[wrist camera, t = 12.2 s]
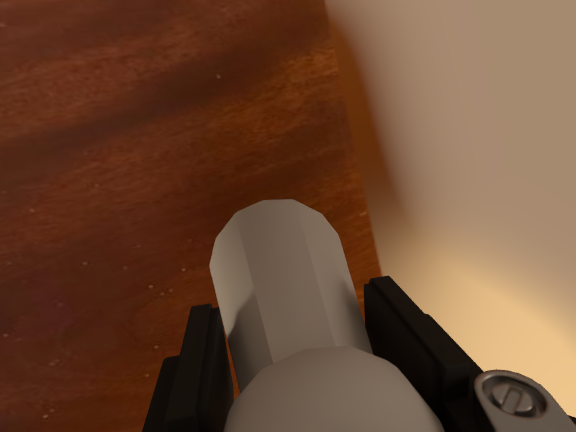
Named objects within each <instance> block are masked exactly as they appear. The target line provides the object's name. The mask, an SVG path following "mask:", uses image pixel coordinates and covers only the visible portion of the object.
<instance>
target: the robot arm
mask: <svg viewBox="0 0 576 432" xmlns="http://www.w3.org/2000/svg"><path fill="white" fill-rule="evenodd" d="M364 308H365V328H366V331H367V335H368V338H369V342H370V345H371V348H372V352H373V355H375V356H377V357H380V358H382V359H385V360H387V361H388V362H390V363H391V364H393V365H394V366H396V367H397V368H398V369H399V370H400V371H401V372H402V374H403V375H404V376H405V377H406V378H407V380H408V381H409V382H410V383H411V384H412V385H413V387H414V388H415V389H416V390H417V391H418V393H419V394H420V395H421V396H422V398H423V399H424V400H425V402H426V403H427V404H428V405H429V407H430V408H431V409H432V411H433V412H434V413H435V415H436V416H437V417H438V419H439V420H440V422H441V424H442V426H443V429H444V431H445V432H576V418H575V417H572V416H569V415H567V414H566V413H565V412H564V410H563V409H562V408H561V407H560V406H559V404H558V403H557V402H556V401H555V399H554V398H553V397H552V396H551V394H550V393H549V392H548V391H547V390H546V389H545V388H543V386H541V385H540V384H538V383H537V382H535V381H534V380H532V379H530V378H528V377H526V376H524V375H521V374H519V373H515V372H511V371H508V370H507V371H506V370H490V371H485V372H483V371H482V370H481V368H480V367H479V366H478V365H477V364H476V363H475V362H474V361H473V360H472V359H471V358H470V357H469V356H468V355H467V354H466V353H465V352H464V351H463V350H462V348H461V347H460V346H459V345H458V344H457V343H456V342H455V341H454V340H453V339H452V338H451V337H450V336H449V335H448V334H447V333H446V332H445V331H444V330H443V329H442V327H441V326H440V325H439V324H438V323H437V322H436V321H435V320H434V319H433V318H432V317H431V316H430V315H428V314H424V313H423V312H422V310H420V308H419V307H418V306H417V305H416V304H415V303H414V302H413V301H412V300H411V299H410V298H409V297H408V295H407V294H406V293H405V292H404V291H403V290H402V289H401V288H400V287H399V286H398V285H397V284H396V283H395V282H394V281H393V279H392V278H391V277H390V276H383V277H377V278H371V279H370V280H369V284H365V285H364ZM233 402H234V393H233V382H232V376H231V371H230V365H229V359H228V354H227V348H226V342H225V337H224V331H223V325H222V320H221V314H220V309H219V307H217V308H213V307H212V304H204V305H198V306H192V307H191V311H190V315H189V319H188V323H187V327H186V331H185V336H184V340H183V344H182V348H181V352H180V355H178V356H173V357H167V358H165V359H164V361H163V364H162V367H161V370H160V374H159V377H158V380H157V384H156V387H155V390H154V394H153V397H152V400H151V404H150V407H149V410H148V414H147V417H146V420H145V424H144V427H143V430H142V432H223V431H224V427H225V424H226V420H227V416H228V413H229V411H230V409H231V406H232V404H233Z"/></svg>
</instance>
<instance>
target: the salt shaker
mask: <svg viewBox="0 0 576 432" xmlns="http://www.w3.org/2000/svg"><path fill="white" fill-rule="evenodd" d="M209 267H210V271H211V275H212V279H213V283H214V287H215V291H216V295H217V299H218V303H219V307H220V312H221V316H222V320H223V324H224V328H225V332H226V336H227V340H228V344H229V348H230V352H231V356H232V360H233V365H234V369H235V373H236V377H237V381H238V385H239V389H240V393H241V394H240V395H239V396H238V397H237V398H236V399H235V401H234V402H233V404H232V406H231V409H230V411H229V413H228V416H227V420H226V424H225V427H224V431H223V432H445V431H444V429H443V426H442V424H441V422H440V420H439V419H438V417H437V416H436V415H435V413H434V412H433V411H432V409H431V408H430V407H429V405H428V404H427V403H426V402H425V400H424V399H423V398H422V396H421V395H420V394H419V393H418V391H417V390H416V389H415V388H414V387H413V385H412V384H411V383H410V382H409V381H408V380H407V378H406V377H405V376H404V375H403V374H402V372H401V371H400V370H399V369H398V368H397V367H396V366H394V365H393V364H391V363H390V362H388V361H387V360H385V359H382V358H380V357H377V356H375V355H373V352H372V348H371V345H370V342H369V338H368V335H367V331H366V328H365V324H364V321H363V317H362V314H361V311H360V307H359V304H358V300H357V297H356V293H355V290H354V286H353V283H352V280H351V276H350V273H349V269H348V266H347V262H346V259H345V256H344V252H343V249H342V245H341V242H340V238H339V235H338V234H337V233H336V231H335V230H334V229H333V228H332V226H331V225H330V224H329V222H328V221H327V220H326V219H325V217H324V216H323V215H322V214H321V213H319V212H317V211H315V210H313V209H311V208H309V207H307V206H305V205H303V204H301V203H299V202H297V201H295V200H293V199H284V200H262V201H260V202H258V203H256V204H253V205H251V206H249V207H247V208H244V209H242V210H240V211H238V212H236V213H235V214H234V216H233V217H232V218H231V219H230V221H229V222H228V223H227V225H226V226H225V227H224V228H223V230H222V231H221V232H220V234H219V235H218V236H217V237H216V240H215V244H214V248H213V253H212V257H211V261H210V266H209Z"/></svg>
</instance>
